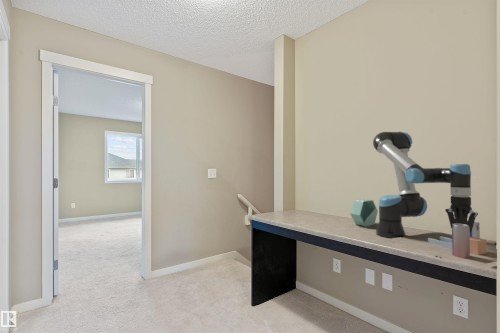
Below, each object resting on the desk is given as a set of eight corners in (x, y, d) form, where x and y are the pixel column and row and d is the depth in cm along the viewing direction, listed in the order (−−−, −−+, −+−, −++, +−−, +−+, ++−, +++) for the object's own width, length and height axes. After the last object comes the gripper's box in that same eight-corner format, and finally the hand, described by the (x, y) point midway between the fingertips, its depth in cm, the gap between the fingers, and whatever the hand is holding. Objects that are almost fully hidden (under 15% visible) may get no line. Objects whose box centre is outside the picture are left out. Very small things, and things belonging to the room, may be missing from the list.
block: (462, 250, 117) (462, 237, 117) (471, 249, 119) (470, 236, 119) (477, 254, 112) (477, 241, 112) (486, 253, 114) (486, 239, 114)
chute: (427, 244, 131) (427, 238, 131) (441, 242, 134) (441, 236, 134) (461, 255, 115) (461, 247, 116) (477, 252, 119) (477, 244, 119)
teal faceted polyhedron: (368, 232, 173) (356, 209, 168) (358, 230, 180) (347, 207, 175) (380, 216, 180) (370, 193, 175) (370, 215, 187) (360, 192, 182)
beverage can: (449, 256, 114) (448, 223, 114) (463, 256, 114) (462, 223, 114) (458, 261, 108) (458, 226, 108) (473, 261, 108) (473, 226, 108)
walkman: (459, 241, 135) (458, 219, 135) (461, 241, 136) (461, 219, 136) (477, 246, 128) (476, 222, 128) (480, 245, 129) (479, 221, 129)
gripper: (440, 195, 126) (441, 242, 125) (471, 197, 113) (472, 250, 113) (451, 194, 128) (452, 240, 128) (481, 197, 116) (482, 248, 115)
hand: (461, 245), depth 120 cm, fingers closed
